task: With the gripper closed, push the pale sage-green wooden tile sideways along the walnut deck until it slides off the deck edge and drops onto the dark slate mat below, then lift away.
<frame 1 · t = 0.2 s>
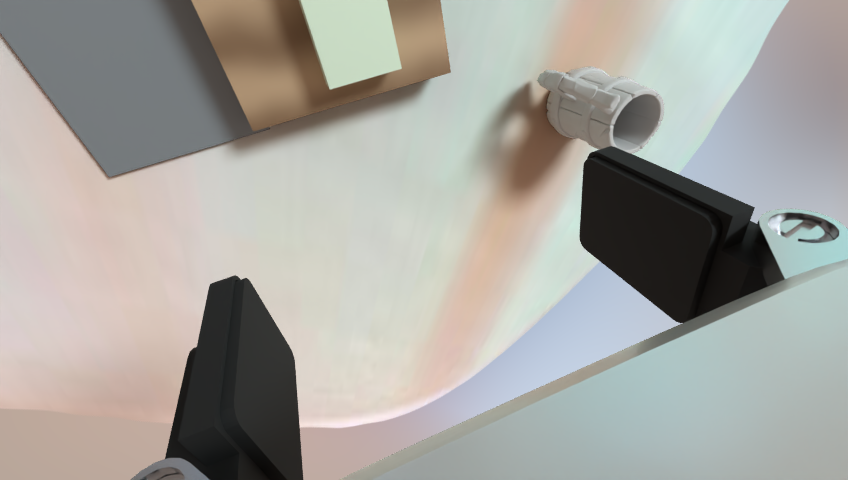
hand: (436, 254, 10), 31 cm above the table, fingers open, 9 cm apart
deck: (325, 14, 33), on the table
tile: (346, 14, 29), point 5 cm above the table, touching deck
mug: (559, 92, 44), on the table
mat: (141, 62, 30), on the table
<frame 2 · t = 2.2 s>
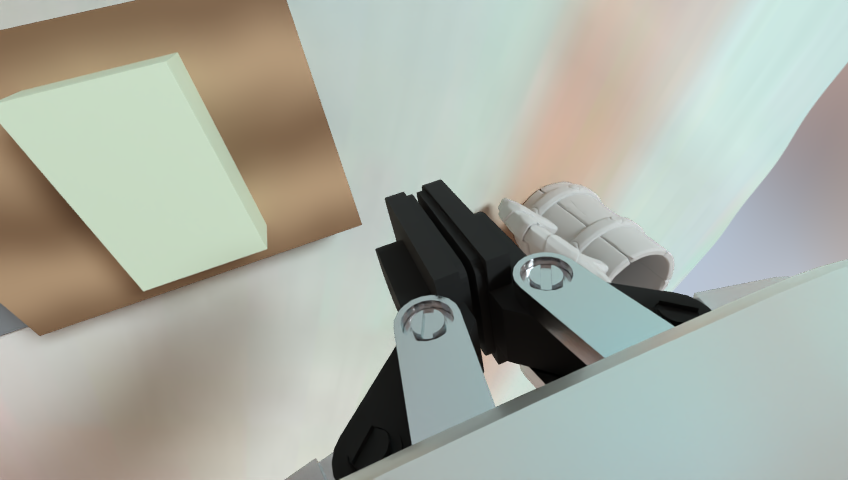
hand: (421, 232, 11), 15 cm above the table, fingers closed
deck: (158, 151, 21), on the table
tile: (159, 179, 18), point 5 cm above the table, touching deck
mug: (531, 211, 33), on the table
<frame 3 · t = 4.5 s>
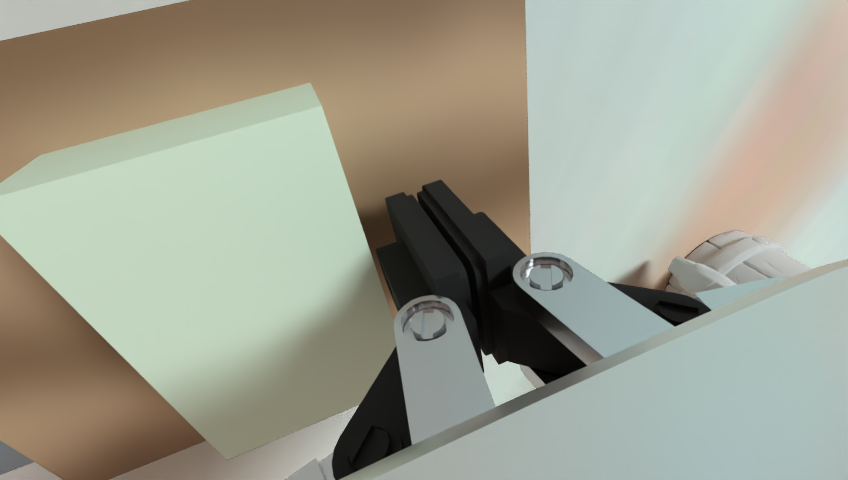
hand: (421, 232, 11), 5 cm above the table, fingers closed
deck: (261, 211, 14), on the table
tile: (264, 290, 11), point 5 cm above the table, touching deck, gripper
mug: (688, 266, 26), on the table
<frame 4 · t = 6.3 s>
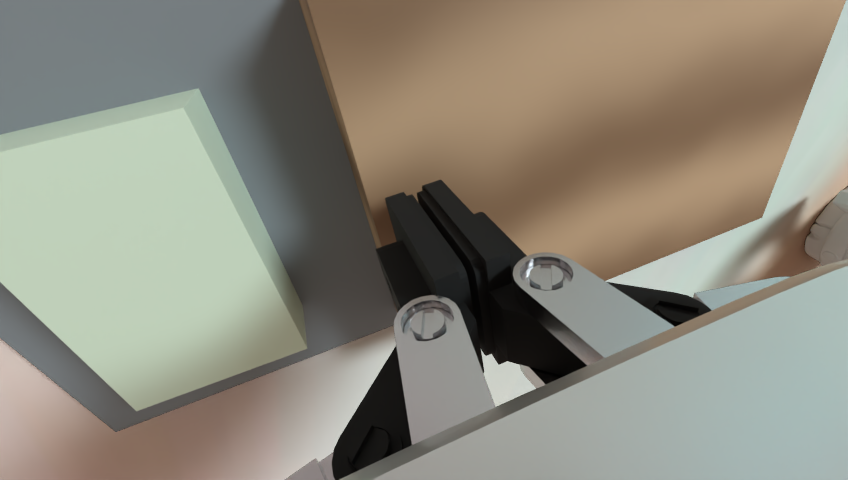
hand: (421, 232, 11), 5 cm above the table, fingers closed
deck: (559, 118, 16), on the table
tile: (164, 263, 12), point 2 cm above the table, tilted 180°, touching mat
mug: (832, 207, 28), on the table
mat: (194, 233, 14), on the table
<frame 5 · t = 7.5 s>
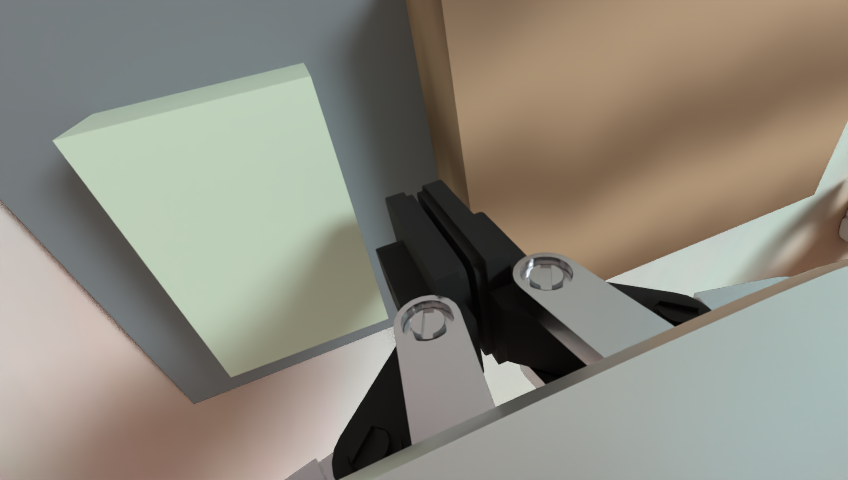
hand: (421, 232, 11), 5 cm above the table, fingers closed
deck: (623, 97, 17), on the table
tile: (264, 232, 13), point 2 cm above the table, tilted 180°, touching mat
mat: (282, 207, 14), on the table
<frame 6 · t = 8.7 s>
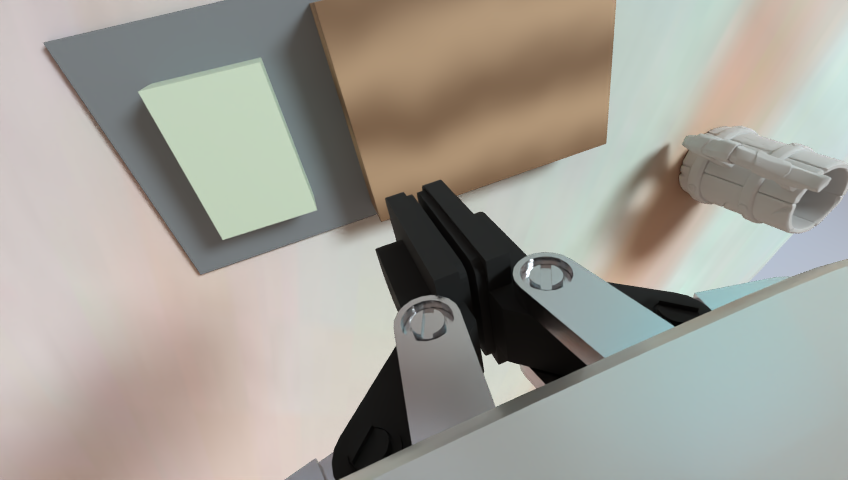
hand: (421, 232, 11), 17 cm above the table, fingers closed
deck: (467, 79, 27), on the table
tile: (241, 152, 23), point 2 cm above the table, tilted 180°, touching mat
mug: (695, 153, 38), on the table
mat: (253, 143, 25), on the table
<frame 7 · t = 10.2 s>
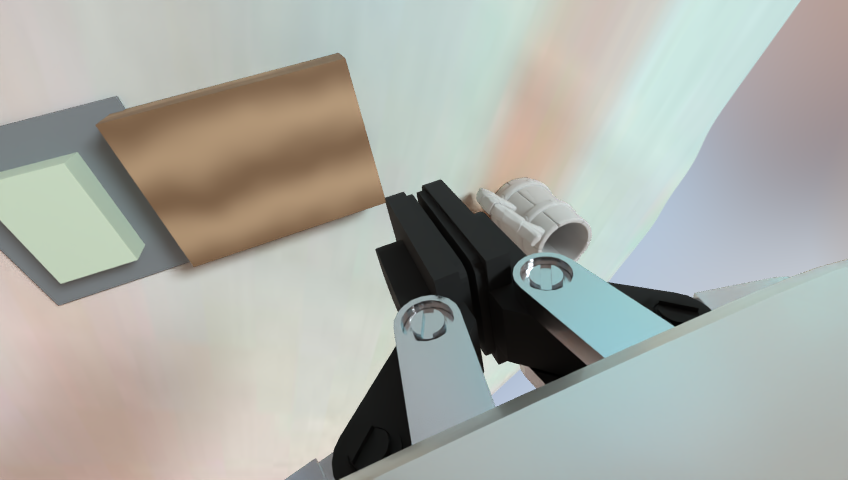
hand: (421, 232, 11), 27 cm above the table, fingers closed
deck: (264, 156, 35), on the table
tile: (68, 220, 31), point 2 cm above the table, tilted 180°, touching mat
mug: (502, 198, 46), on the table
mat: (85, 209, 32), on the table
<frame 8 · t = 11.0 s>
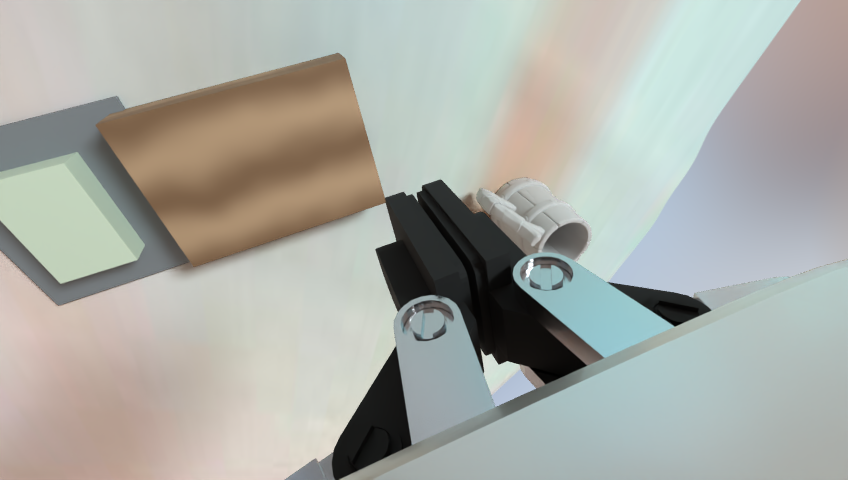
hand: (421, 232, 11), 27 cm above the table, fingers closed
deck: (264, 156, 35), on the table
tile: (68, 220, 31), point 2 cm above the table, tilted 180°, touching mat
mug: (502, 198, 46), on the table
mat: (85, 209, 32), on the table
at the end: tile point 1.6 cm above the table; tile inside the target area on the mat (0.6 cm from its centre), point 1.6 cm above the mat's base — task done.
